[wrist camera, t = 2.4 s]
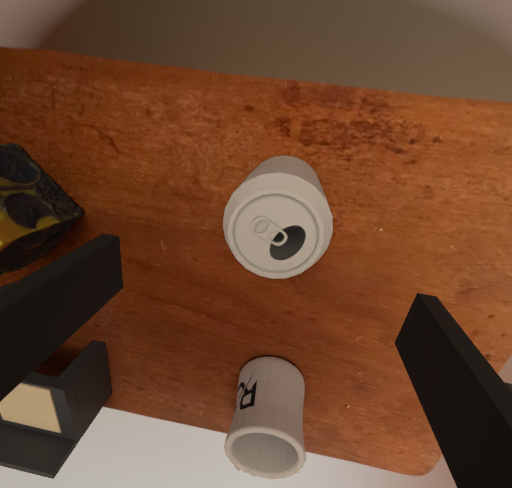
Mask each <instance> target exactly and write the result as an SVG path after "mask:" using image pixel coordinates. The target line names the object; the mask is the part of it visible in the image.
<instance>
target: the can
mask: <svg viewBox="0 0 512 488" xmlns="http://www.w3.org/2000/svg"><path fill="white" fill-rule="evenodd" d="M223 229H224V234H225V240H226V242H227V244H228V245H229V247H230V249H231V251H232V253H233V254H234V256H235V258H236V259H237V260H238V261H239V262H240V263H241V264H242V265H243V266H244V267H245V268H246V269H247V270H249V271H251V272H253V273H255V274H257V275H258V276H263V277H267V278H271V279H278V278H289V277H292V276H295V275H298V274H301V273H302V272H303V271H305V270H306V269H308V268H309V267H311V266H312V265H313V264H314V263H316V262H317V261H318V260H319V259H320V257H321V256H322V255H323V253H324V252H325V251H326V249H327V248H328V245H329V242H330V239H331V236H332V233H333V226H332V214H331V211H330V208H329V206H328V203H327V200H326V197H325V195H324V192H323V189H322V187H321V184H320V181H319V179H318V176H317V174H316V172H315V171H314V170H313V169H312V168H311V167H310V165H309V164H307V163H306V162H304V161H302V160H301V159H299V158H296V157H291V156H286V155H284V156H276V157H272V158H269V159H267V160H265V161H263V162H261V163H260V164H259V165H258V166H257V167H256V168H255V169H254V170H253V171H252V172H251V173H250V175H249V176H248V177H247V178H246V179H245V180H244V181H243V183H242V184H241V185H240V186H239V187H238V188H237V189H236V190H235V192H234V193H233V194H232V196H231V198H230V200H229V202H228V204H227V206H226V207H225V211H224V219H223Z"/></svg>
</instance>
